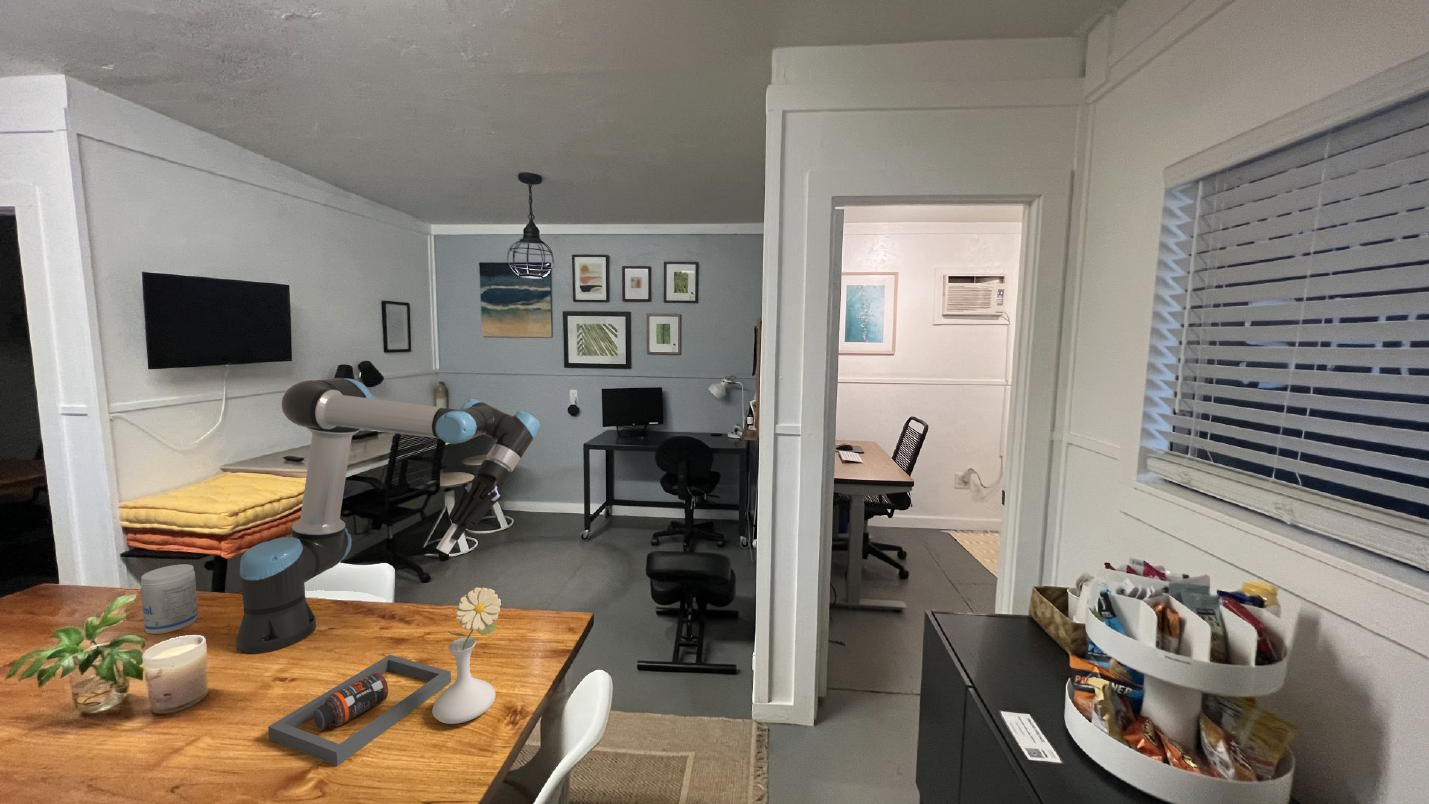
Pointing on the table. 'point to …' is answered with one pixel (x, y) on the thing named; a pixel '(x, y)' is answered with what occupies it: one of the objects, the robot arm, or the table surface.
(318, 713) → the supplement bottle
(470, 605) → the flower in vase
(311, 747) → the corral
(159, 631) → the supplement tub
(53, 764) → the table surface
